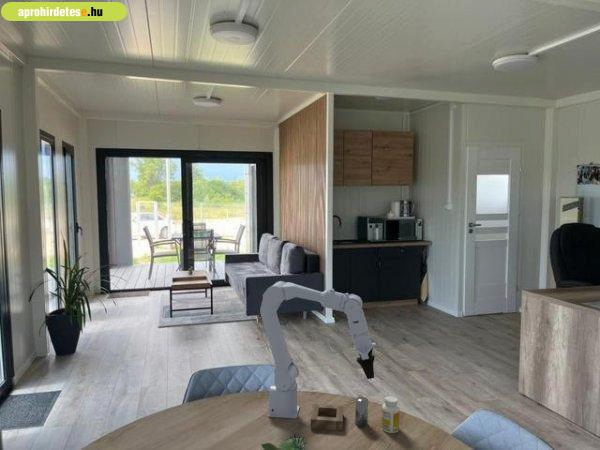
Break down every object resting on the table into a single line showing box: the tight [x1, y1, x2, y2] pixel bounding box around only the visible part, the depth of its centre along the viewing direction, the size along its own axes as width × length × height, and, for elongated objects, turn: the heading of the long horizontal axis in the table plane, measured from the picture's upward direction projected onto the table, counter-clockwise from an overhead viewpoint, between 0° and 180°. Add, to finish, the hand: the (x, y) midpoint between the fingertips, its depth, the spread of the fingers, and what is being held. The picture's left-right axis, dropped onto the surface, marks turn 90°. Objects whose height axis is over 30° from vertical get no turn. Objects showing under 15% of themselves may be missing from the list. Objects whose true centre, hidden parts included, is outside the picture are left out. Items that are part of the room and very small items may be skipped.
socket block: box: [310, 403, 344, 432], centre depth 139 cm, size 10×10×3 cm
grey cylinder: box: [354, 396, 369, 428], centre depth 137 cm, size 4×4×8 cm
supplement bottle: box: [381, 395, 401, 434], centre depth 134 cm, size 5×5×10 cm
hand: (370, 373), depth 137 cm, fingers open, 7 cm apart
